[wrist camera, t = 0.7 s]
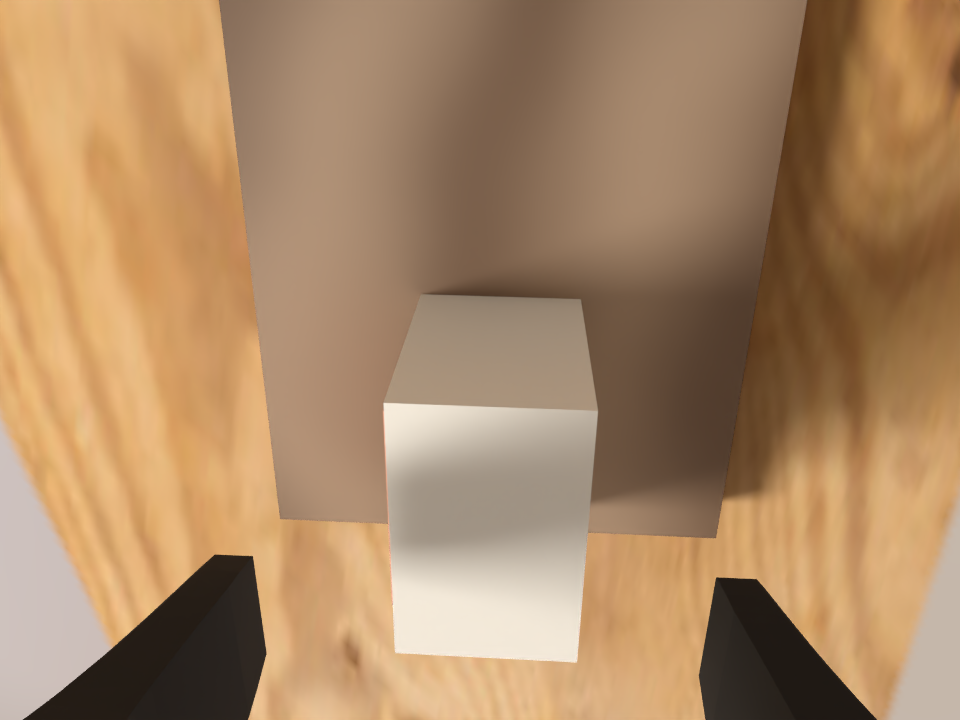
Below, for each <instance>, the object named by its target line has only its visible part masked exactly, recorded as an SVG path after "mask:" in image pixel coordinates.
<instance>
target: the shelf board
mask: <svg viewBox="0 0 960 720" xmlns="http://www.w3.org/2000/svg"><path fill="white" fill-rule="evenodd" d="M219 4H220V12H221V21H222V29H223V38H224V46H225V55H226V63H227V72H228V80H229V89H230V97H231V106H232V114H233V123H234V131H235V140H236V148H237V156H238V165H239V173H240V182H241V190H242V199H243V207H244V216H245V224H246V233H247V241H248V250H249V258H250V267H251V275H252V284H253V292H254V301H255V309H256V318H257V326H258V335H259V343H260V352H261V360H262V369H263V377H264V386H265V394H266V403H267V411H268V420H269V428H270V436H271V445H272V453H273V462H274V470H275V479H276V487H277V496H278V504H279V513H280V519H291V520H314V521H336V522H359V523H382V524H388V510H387V489H386V467H385V446H384V425H383V409H384V404H383V403H384V400H385V397H386V394H387V391H388V388H389V385H390V383H391V380H392V377H393V374H394V371H395V368H396V365H397V362H398V359H399V356H400V354H401V351H402V348H403V345H404V342H405V339H406V336H407V333H408V330H409V328H410V325H411V322H412V319H413V316H414V313H415V310H416V307H417V304H418V301H419V299H420V296H421V294H430V295H462V296H495V297H528V298H560V299H581V304H582V310H583V316H584V323H585V329H586V336H587V342H588V349H589V355H590V362H591V368H592V375H593V381H594V388H595V394H596V401H597V407H598V417H597V429H596V441H595V453H594V465H593V477H592V488H591V500H590V512H589V524H588V533H609V534H631V535H654V536H677V537H699V538H716V534H717V529H718V523H719V517H720V511H721V505H722V499H723V493H724V487H725V482H726V476H727V470H728V464H729V458H730V452H731V446H732V440H733V434H734V429H735V423H736V417H737V411H738V405H739V399H740V393H741V387H742V381H743V376H744V370H745V364H746V358H747V352H748V346H749V340H750V334H751V328H752V323H753V317H754V311H755V305H756V299H757V293H758V287H759V281H760V275H761V270H762V264H763V258H764V252H765V246H766V240H767V234H768V228H769V222H770V217H771V211H772V205H773V199H774V193H775V187H776V181H777V175H778V169H779V164H780V158H781V152H782V146H783V140H784V134H785V128H786V122H787V117H788V111H789V105H790V99H791V93H792V87H793V81H794V75H795V69H796V64H797V58H798V52H799V46H800V40H801V34H802V28H803V22H804V16H805V11H806V5H807V0H219Z"/></svg>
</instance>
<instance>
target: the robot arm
mask: <svg viewBox="0 0 960 720" xmlns="http://www.w3.org/2000/svg"><path fill="white" fill-rule="evenodd" d="M265 657H266V647H265V640H264V632H263V625H262V618H261V611H260V604H259V597H258V590H257V583H256V576H255V569H254V561H253V556H233V555H214V556H213V557H212V558H211V559H210V560H208V561H207V562H206V563H205V564H204V565H203V566H202V567H201V568H199V569H198V570H197V571H196V572H195V573H194V574H193V575H192V576H191V577H190V578H189V579H188V580H187V581H185V582H184V583H183V584H182V585H181V586H180V587H179V588H178V589H177V590H176V591H175V592H174V593H173V594H172V595H170V596H169V597H168V598H167V599H166V600H165V601H164V602H163V603H162V604H161V605H160V606H159V607H158V608H156V609H155V610H154V611H153V612H152V613H151V614H150V615H149V616H148V617H147V618H146V619H144V620H143V621H142V622H141V623H140V624H139V625H138V626H137V627H136V628H134V629H133V630H132V631H131V632H130V633H129V634H128V635H127V636H125V637H124V638H123V639H122V640H121V641H120V642H119V643H118V644H117V645H115V646H114V647H113V648H112V649H111V650H110V651H109V652H107V653H106V654H105V655H104V656H103V657H102V658H100V659H99V660H98V661H97V662H96V663H94V664H93V665H92V666H91V667H89V668H88V669H87V670H86V671H85V672H83V673H82V674H81V675H80V676H79V677H77V678H76V679H75V680H74V681H73V682H71V683H70V684H69V685H68V686H66V687H65V688H64V689H63V690H62V691H61V692H59V693H58V694H57V695H55V696H54V697H53V698H51V699H50V700H49V701H47V702H46V703H45V704H44V705H42V706H41V707H40V708H38V709H37V710H35V711H34V712H33V713H31V714H30V715H29V716H27V717H26V718H25V719H23V720H248V718H249V715H250V711H251V708H252V705H253V701H254V698H255V694H256V691H257V687H258V684H259V680H260V676H261V672H262V669H263V665H264V661H265ZM699 679H700V686H701V693H702V700H703V706H704V713H705V719H706V720H877V719H876V718H875V717H874V716H873V715H872V714H871V713H870V712H869V711H868V710H867V708H866V707H865V706H864V705H863V704H862V703H861V702H860V701H859V700H858V699H857V698H856V697H855V695H854V694H853V693H852V692H851V691H850V690H849V689H848V688H847V686H846V685H845V684H844V683H843V682H842V681H841V680H840V678H839V677H838V676H837V675H836V674H835V673H834V672H833V671H832V669H831V668H830V667H829V666H828V665H827V664H826V663H825V661H824V660H823V659H822V658H821V657H820V656H819V654H818V653H817V652H816V651H815V650H814V648H813V647H812V646H811V645H810V644H809V642H808V641H807V640H806V639H805V638H804V636H803V635H802V634H801V633H800V632H799V630H798V629H797V628H796V627H795V625H794V624H793V623H792V622H791V620H790V619H789V618H788V617H787V616H786V614H785V613H784V612H783V611H782V609H781V608H780V607H779V606H778V604H777V603H776V602H775V601H774V599H773V598H772V597H771V596H770V594H769V593H768V592H767V591H766V589H765V588H764V587H763V586H762V585H761V584H760V582H759V581H758V580H757V579H738V578H716V582H715V587H714V593H713V599H712V604H711V610H710V616H709V621H708V627H707V633H706V639H705V644H704V650H703V656H702V661H701V667H700V673H699Z"/></svg>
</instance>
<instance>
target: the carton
mask: <svg viewBox="0 0 960 720" xmlns="http://www.w3.org/2000/svg"><path fill="white" fill-rule="evenodd" d="M383 404H384V409H383V425H384V446H385V467H386V489H387V510H388V531H389V552H390V573H391V594H392V605H393V618H394V640H395V653H406V654H425V655H444V656H464V657H483V658H502V659H522V660H541V661H561V662H577V654H578V642H579V630H580V619H581V607H582V595H583V583H584V571H585V559H586V548H587V536H588V524H589V512H590V500H591V488H592V477H593V465H594V453H595V441H596V429H597V417H598V407H597V401H596V394H595V388H594V381H593V375H592V368H591V362H590V355H589V349H588V342H587V336H586V329H585V323H584V316H583V310H582V304H581V299H560V298H528V297H495V296H462V295H430V294H421V296H420V299H419V301H418V304H417V307H416V310H415V313H414V316H413V319H412V322H411V325H410V328H409V330H408V333H407V336H406V339H405V342H404V345H403V348H402V351H401V354H400V356H399V359H398V362H397V365H396V368H395V371H394V374H393V377H392V380H391V383H390V385H389V388H388V391H387V394H386V397H385V400H384V403H383Z"/></svg>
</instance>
